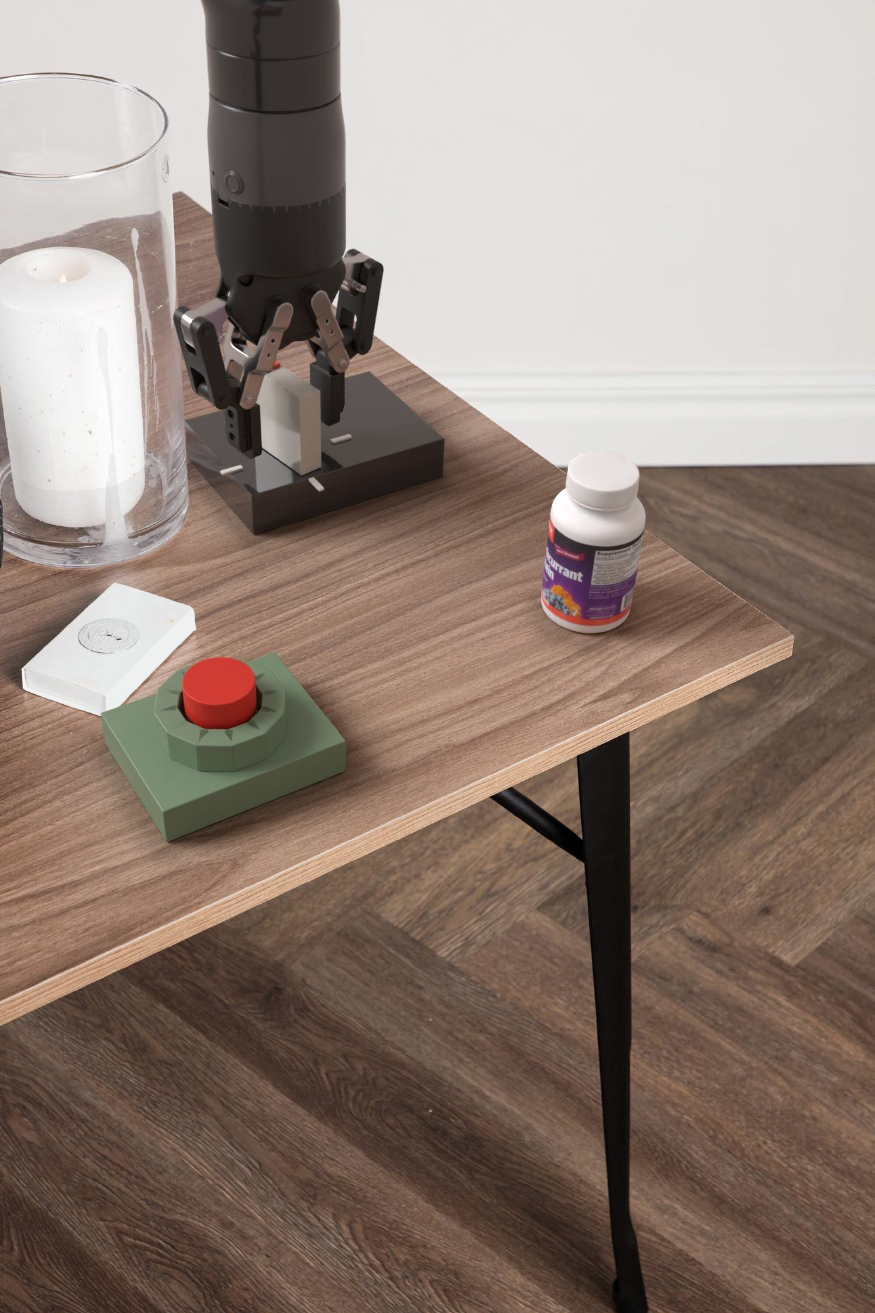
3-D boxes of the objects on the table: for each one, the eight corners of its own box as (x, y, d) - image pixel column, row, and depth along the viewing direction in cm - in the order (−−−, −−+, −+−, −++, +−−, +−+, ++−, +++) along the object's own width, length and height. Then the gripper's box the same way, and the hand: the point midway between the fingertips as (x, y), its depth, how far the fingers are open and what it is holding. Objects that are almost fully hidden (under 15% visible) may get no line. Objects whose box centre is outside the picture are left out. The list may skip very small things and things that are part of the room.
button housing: (166, 843, 69) (159, 785, 66) (104, 743, 74) (95, 686, 72) (346, 771, 73) (346, 714, 71) (276, 681, 78) (273, 625, 76)
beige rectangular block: (321, 467, 89) (320, 386, 86) (301, 475, 89) (299, 395, 85) (274, 433, 92) (270, 354, 88) (253, 442, 91) (249, 362, 88)
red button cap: (202, 740, 70) (200, 713, 68) (173, 696, 72) (170, 670, 71) (268, 715, 71) (267, 689, 70) (237, 674, 73) (235, 648, 72)
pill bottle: (524, 591, 85) (538, 454, 79) (601, 571, 87) (621, 435, 81) (567, 645, 82) (585, 506, 75) (647, 623, 84) (671, 485, 77)
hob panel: (256, 551, 87) (254, 509, 85) (179, 460, 95) (175, 419, 93) (456, 488, 94) (458, 447, 92) (369, 408, 101) (369, 368, 99)
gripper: (337, 125, 84) (338, 377, 95) (129, 182, 77) (157, 448, 88) (420, 165, 80) (411, 423, 91) (209, 229, 73) (227, 502, 84)
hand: (286, 434), depth 89 cm, fingers open, 5 cm apart
